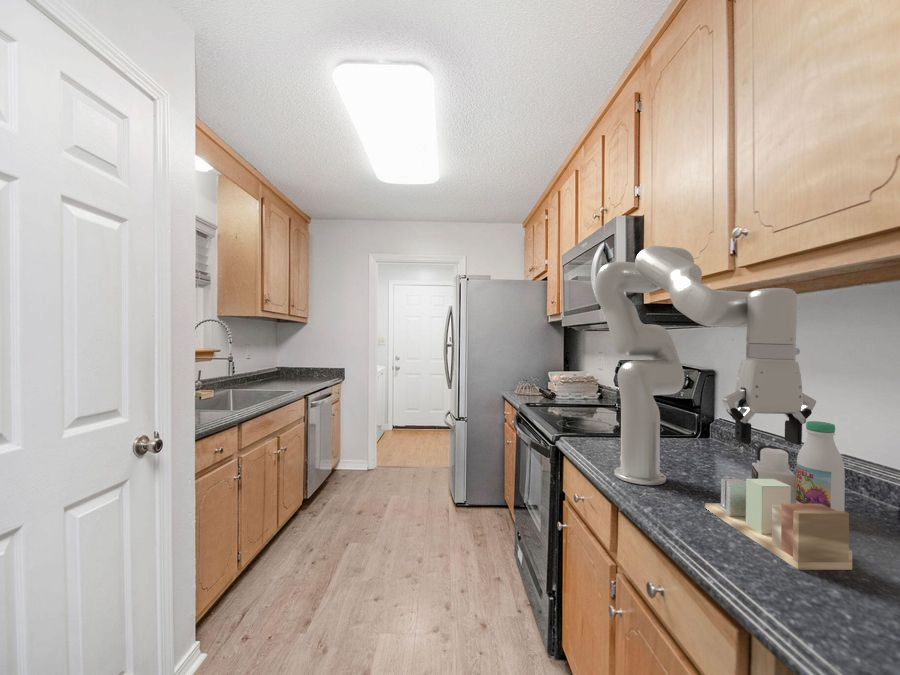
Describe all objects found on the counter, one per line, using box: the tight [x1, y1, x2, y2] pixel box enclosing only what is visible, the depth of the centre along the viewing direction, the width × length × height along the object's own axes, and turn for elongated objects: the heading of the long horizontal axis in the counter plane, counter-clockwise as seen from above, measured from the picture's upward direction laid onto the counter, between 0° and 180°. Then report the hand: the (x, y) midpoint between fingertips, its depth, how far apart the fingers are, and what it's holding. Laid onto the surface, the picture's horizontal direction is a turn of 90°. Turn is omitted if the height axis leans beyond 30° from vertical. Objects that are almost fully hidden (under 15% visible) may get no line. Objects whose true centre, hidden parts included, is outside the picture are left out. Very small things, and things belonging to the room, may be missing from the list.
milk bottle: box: [795, 420, 846, 511], centre depth 88 cm, size 8×8×20 cm
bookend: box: [716, 478, 746, 517], centre depth 87 cm, size 5×7×7 cm
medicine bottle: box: [751, 445, 796, 504], centre depth 98 cm, size 7×7×12 cm
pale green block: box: [745, 478, 791, 534], centre depth 79 cm, size 4×6×9 cm
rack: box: [704, 502, 853, 571], centre depth 80 cm, size 24×9×9 cm, turn 1°
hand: (767, 442), depth 79 cm, fingers open, 9 cm apart
